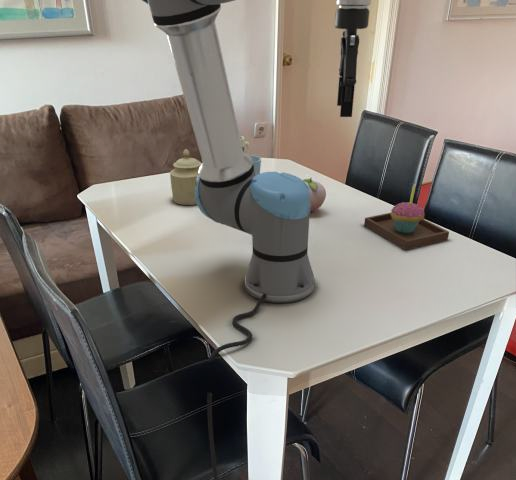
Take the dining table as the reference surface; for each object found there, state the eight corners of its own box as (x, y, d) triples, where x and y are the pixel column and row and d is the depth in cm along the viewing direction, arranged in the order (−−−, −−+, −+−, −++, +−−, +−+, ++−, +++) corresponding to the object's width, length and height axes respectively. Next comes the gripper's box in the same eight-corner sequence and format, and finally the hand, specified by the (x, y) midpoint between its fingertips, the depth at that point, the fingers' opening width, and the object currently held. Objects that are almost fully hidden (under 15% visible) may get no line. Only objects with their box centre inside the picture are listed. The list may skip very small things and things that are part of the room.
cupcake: (394, 221, 138) (401, 177, 131) (425, 227, 135) (434, 182, 128) (384, 232, 132) (390, 186, 125) (416, 238, 129) (424, 192, 122)
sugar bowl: (210, 188, 164) (207, 140, 155) (225, 199, 156) (223, 148, 147) (167, 196, 158) (161, 147, 149) (180, 207, 150) (175, 156, 141)
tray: (447, 240, 130) (449, 231, 128) (405, 250, 125) (406, 241, 124) (403, 217, 143) (404, 209, 141) (364, 225, 138) (364, 217, 137)
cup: (237, 188, 164) (236, 155, 158) (260, 187, 164) (260, 155, 158) (237, 196, 158) (236, 162, 152) (262, 195, 158) (261, 161, 152)
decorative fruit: (330, 214, 145) (333, 180, 139) (305, 219, 142) (307, 184, 136) (314, 204, 152) (315, 170, 146) (290, 208, 149) (291, 174, 143)
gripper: (333, 5, 122) (327, 101, 135) (338, 9, 102) (330, 121, 114) (364, 5, 122) (355, 101, 134) (376, 9, 101) (364, 122, 114)
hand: (344, 111), depth 124 cm, fingers open, 13 cm apart
